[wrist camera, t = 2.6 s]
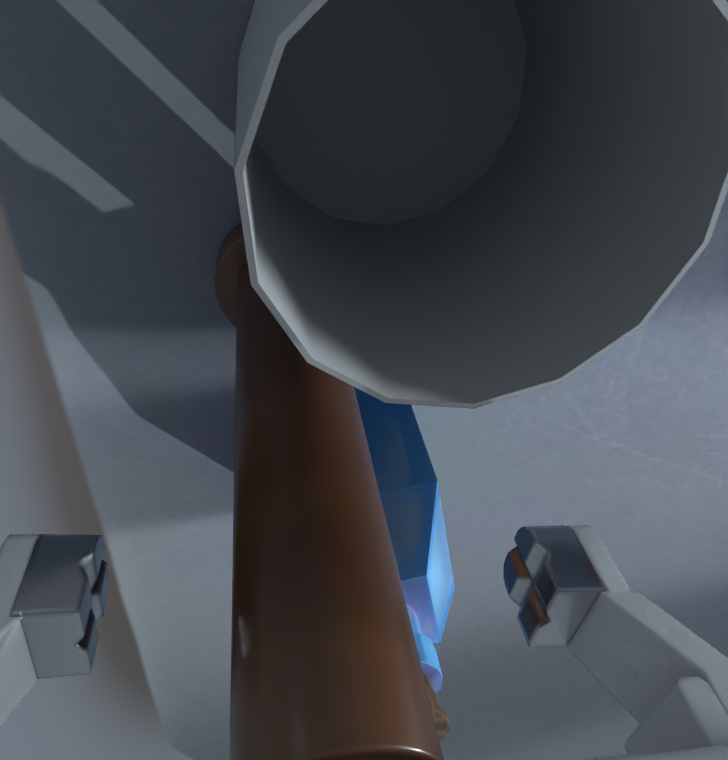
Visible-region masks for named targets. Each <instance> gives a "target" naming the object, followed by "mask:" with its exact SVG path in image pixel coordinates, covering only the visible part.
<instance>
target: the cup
mask: <svg viewBox="0 0 728 760" xmlns="http://www.w3.org/2000/svg"><path fill="white" fill-rule="evenodd" d="M234 173H235V180H236V187H237V194H238V201H239V207H240V214H241V221H242V228H243V235H244V241H245V248H246V255H247V262H248V269H249V275H250V282H251V286H252V287H253V288H254V290H255V291H256V293H257V294H258V295H259V297H260V298H261V299H262V301H263V302H264V304H265V305H266V306H267V308H268V309H269V310H270V312H271V313H272V315H273V316H274V317H275V319H276V320H277V321H278V323H279V324H280V326H281V327H282V328H283V330H284V331H285V332H286V334H287V335H288V337H289V338H290V339H291V341H292V342H293V343H294V345H295V346H296V348H297V349H298V350H299V352H300V353H301V354H302V356H303V357H304V359H305V360H306V361H307V363H309V364H311V365H313V366H315V367H317V368H319V369H321V370H323V371H325V372H327V373H328V374H330V375H332V376H334V377H336V378H338V379H340V380H342V381H344V382H346V383H348V384H350V385H352V386H354V387H356V388H358V389H360V390H362V391H363V392H365V393H367V394H369V395H371V396H373V397H375V398H377V399H379V400H381V401H383V402H385V403H394V404H409V405H425V406H440V407H456V408H471V409H474V408H477V407H480V406H484V405H487V404H491V403H494V402H497V401H501V400H504V399H508V398H511V397H514V396H518V395H521V394H525V393H528V392H531V391H535V390H538V389H542V388H545V387H548V386H552V385H555V384H559V383H562V382H563V381H565V380H566V379H567V378H569V377H570V376H572V375H573V374H575V373H576V372H578V371H579V370H581V369H582V368H584V367H585V366H587V365H588V364H589V363H591V362H592V361H594V360H595V359H597V358H598V357H600V356H601V355H603V354H604V353H606V352H607V351H609V350H610V349H612V348H613V347H614V346H616V345H617V344H619V343H620V342H622V341H623V340H625V339H626V338H628V337H629V336H631V335H632V334H634V333H635V332H636V331H638V330H639V329H641V328H642V327H643V326H644V325H645V324H646V323H647V321H648V320H649V319H650V317H651V316H652V315H653V314H654V312H655V311H656V310H657V309H658V307H659V306H660V305H661V304H662V302H663V301H664V300H665V298H666V297H667V296H668V295H669V293H670V292H671V291H672V290H673V288H674V287H675V286H676V285H677V283H678V282H679V281H680V280H681V278H682V277H683V276H684V274H685V273H686V272H687V271H688V269H689V268H690V267H691V266H692V264H693V263H694V262H695V261H696V259H697V258H698V257H699V255H700V254H701V253H702V252H703V250H704V249H705V248H706V247H707V245H708V244H709V242H710V239H711V236H712V234H713V231H714V228H715V225H716V222H717V219H718V216H719V213H720V211H721V208H722V205H723V202H724V199H725V196H726V193H727V191H728V3H727V1H726V0H255V2H254V5H253V9H252V12H251V15H250V19H249V22H248V25H247V29H246V32H245V35H244V39H243V42H242V45H241V49H240V52H239V57H238V83H237V109H236V135H235V161H234Z"/></svg>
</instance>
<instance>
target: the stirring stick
mask: <svg viewBox="0 0 728 760" xmlns="http://www.w3.org/2000/svg"><path fill="white" fill-rule="evenodd" d="M215 291H216V296H217V300H218V302H219V305H220V307H221V309H222V311H223V313H224V314H225V315H226V317H227V318H228V319H229V321H230V322H231V323H232V324H233V325H234V326H236V389H235V453H234V517H233V580H232V644H231V707H230V760H444V759H443V755H442V751H441V747H440V742H439V738H438V734H437V730H436V726H435V722H434V717H433V713H432V709H431V705H430V701H429V697H428V692H427V688H426V684H425V680H424V676H423V672H422V668H421V663H420V659H419V655H418V651H417V647H416V643H415V638H414V634H413V630H412V626H411V622H410V618H409V613H408V609H407V605H406V601H405V597H404V593H403V588H402V584H401V580H400V576H399V572H398V568H397V563H396V559H395V555H394V551H393V547H392V543H391V538H390V534H389V530H388V526H387V522H386V518H385V514H384V509H383V505H382V501H381V497H380V493H379V489H378V484H377V480H376V476H375V472H374V468H373V464H372V459H371V455H370V451H369V447H368V443H367V439H366V434H365V430H364V426H363V422H362V418H361V414H360V409H359V405H358V401H357V397H356V393H355V389H354V386H352V385H350V384H348V383H346V382H344V381H342V380H340V379H338V378H336V377H334V376H332V375H330V374H328V373H327V372H325V371H323V370H321V369H319V368H317V367H315V366H313V365H311V364H309V363H307V361H306V360H305V359H304V357H303V356H302V354H301V353H300V352H299V350H298V349H297V348H296V346H295V345H294V343H293V342H292V341H291V339H290V338H289V337H288V335H287V334H286V332H285V331H284V330H283V328H282V327H281V326H280V324H279V323H278V321H277V320H276V319H275V317H274V316H273V315H272V313H271V312H270V310H269V309H268V308H267V306H266V305H265V304H264V302H263V301H262V299H261V298H260V297H259V295H258V294H257V293H256V291H255V290H254V288H253V287H252V286H251V282H250V275H249V269H248V262H247V255H246V248H245V241H244V235H243V228H242V223H240V224H239V225H238V226H236V227H235V228H234V229H233V230H232V231H231V232H230V233H229V235H228V236H227V237H226V239H225V240H224V242H223V244H222V246H221V248H220V250H219V253H218V257H217V264H216V276H215Z"/></svg>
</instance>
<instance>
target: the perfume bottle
mask: <svg viewBox="0 0 728 760" xmlns="http://www.w3.org/2000/svg"><path fill="white" fill-rule="evenodd" d="M354 389H355V393H356V397H357V401H358V405H359V409H360V414H361V418H362V422H363V426H364V430H365V434H366V439H367V443H368V447H369V451H370V455H371V459H372V464H373V468H374V472H375V476H376V480H377V484H378V489H379V493H380V497H381V501H382V505H383V509H384V514H385V518H386V522H387V526H388V530H389V534H390V538H391V543H392V547H393V551H394V555H395V559H396V563H397V568H398V572H399V576H400V580H401V584H402V588H403V593H404V597H405V601H406V605H407V609H408V613H409V618H410V622H411V626H412V630H413V634H414V638H415V643H416V647H417V651H418V655H419V659H420V663H421V668H422V672H423V676H424V680H425V684H426V688H427V692H428V697H429V701H430V705H431V709H432V713H433V717H434V722H435V726H436V730H437V734H438V738H439V741H440V740H442V739H443V737H444V736H445V735H446V733H447V732H448V731H449V721H448V718H447V716H446V714H445V712H444V710H443V708H442V706H441V704H440V702H439V700H438V698H437V696H436V695H437V694H438V692H439V691H440V689H441V688H442V682H443V676H442V672H441V668H440V665H439V661H438V657H437V653H436V650H435V647H434V645H433V644H435V643H439V642H441V638H442V634H443V630H444V627H445V623H446V619H447V615H448V612H449V608H450V604H451V600H452V596H453V593H454V589H455V588H454V581H453V575H452V569H451V563H450V556H449V550H448V544H447V538H446V531H445V525H444V519H443V513H442V506H441V500H440V494H439V488H438V481H437V478H436V475H435V472H434V469H433V467H432V464H431V461H430V458H429V455H428V452H427V449H426V447H425V444H424V441H423V438H422V435H421V432H420V429H419V427H418V424H417V421H416V418H415V415H414V412H413V409H412V406H411V405H409V404H394V403H385V402H383V401H381V400H379V399H377V398H375V397H373V396H371V395H369V394H367V393H365V392H363V391H362V390H360V389H358V388H356V387H354Z"/></svg>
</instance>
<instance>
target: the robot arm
mask: <svg viewBox="0 0 728 760" xmlns="http://www.w3.org/2000/svg"><path fill="white" fill-rule="evenodd" d="M514 539H515V541H516V544H517V546H516V547H515V548H514V549H512V550H511V551H510V552H508V554H507V557H506V559H505V562H504V581H505V586H506V589H507V592H508V595H509V597H510V598H511V599H512V600H513V601H514V602H515V603H516V604H517V605H519V606H520V610H519V613H518V617H517V618H518V620H519V623H520V625H521V628H522V630H523V633H524V635H525V638H526V640H527V643H528V645H529V647H542V646H568V647H567V648H568V649H569V650H570V651H571V652H572V653H573V655H574V656H575V657H576V658H577V659H578V660H579V661H580V662H581V663H582V664H583V665H584V666H585V667H586V668H587V669H588V670H589V671H590V672H591V673H592V674H593V675H594V676H595V677H596V678H597V680H598V681H599V682H600V683H601V684H602V685H603V686H604V687H605V688H606V689H607V690H608V691H609V692H610V693H611V694H612V695H613V696H614V697H615V698H616V699H617V700H618V701H619V702H620V704H621V705H622V706H623V707H624V708H625V709H626V710H627V711H628V712H629V713H630V714H631V715H632V716H633V717H634V718H635V719H636V720H637V721H638V722H639V723H640V725H639V726H638V728H637V729H636V730H635V731H634V733H633V734H632V735H631V736H630V737H629V739H628V740H627V743H626V745H625V748H626V750H627V752H628V754H629V755H620V756H611V757H601V758H592V759H582V760H728V658H727V657H726V656H724V655H723V654H722V653H720V652H719V651H718V650H716V649H715V648H714V647H712V646H711V645H710V644H708V643H707V642H706V641H704V640H703V639H702V638H700V637H699V636H698V635H696V634H695V633H694V632H692V631H691V630H690V629H688V628H687V627H686V626H684V625H683V624H682V623H680V622H679V621H677V620H676V619H675V618H673V617H672V616H671V615H669V614H668V613H667V612H665V611H664V610H663V609H661V608H660V607H659V606H657V605H656V604H655V603H653V602H652V601H651V600H649V599H648V598H647V597H645V596H644V595H643V594H641V593H640V592H639V591H637V590H630V588H629V587H628V585H627V583H626V581H625V580H624V578H623V576H622V575H621V573H620V571H619V570H618V568H617V566H616V564H615V563H614V561H613V559H612V558H611V556H610V554H609V553H608V551H607V549H606V547H605V546H604V544H603V542H602V541H601V539H600V537H599V536H598V534H597V532H596V531H595V529H594V528H592V527H591V526H590V525H587V526H564V525H562V526H530V527H522V528H521V529H519V530H518V532H517V534H516V536H515V538H514ZM104 548H105V546H104V540H103V535H54V534H53V535H52V534H43V535H42V534H41V535H9V536H8V537H7V539H6V540H5V541H4V542H3V544H2V546H1V549H0V726H1V725H2V724H3V722H4V721H5V720H6V719H7V718H8V717H9V715H10V714H11V713H12V712H13V711H14V709H15V708H16V707H17V706H18V705H19V703H20V702H21V701H22V700H23V699H24V698H25V696H26V695H27V694H28V693H29V691H30V690H31V689H32V688H33V687H34V686H35V685H36V683H37V682H38V681H37V679H40V678H51V677H63V676H74V675H85V674H91V670H92V665H93V661H94V656H95V652H96V647H97V643H98V632H97V626H96V622H97V621H98V620H99V619H100V618H101V617H102V616H103V615H104V610H105V605H106V600H107V590H108V568H107V563H106V562H105V561H103V560H102V557H103V552H104Z"/></svg>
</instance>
